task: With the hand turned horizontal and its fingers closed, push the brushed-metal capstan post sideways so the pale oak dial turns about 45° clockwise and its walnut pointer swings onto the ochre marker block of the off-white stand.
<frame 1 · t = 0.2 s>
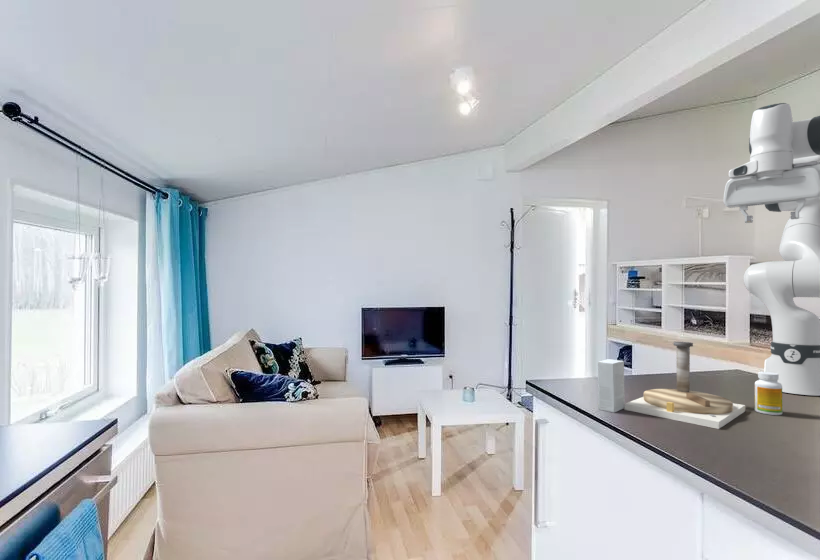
hand: (771, 221, 117), 48 cm above the worktop, tool pointing down, fingers open, 8 cm apart
dial stand: (686, 409, 114), on the worktop
supplement bottle: (768, 413, 112), on the worktop
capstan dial: (686, 374, 114), point 9 cm above the worktop, hinge at 0.0°
skincare box: (611, 409, 114), on the worktop
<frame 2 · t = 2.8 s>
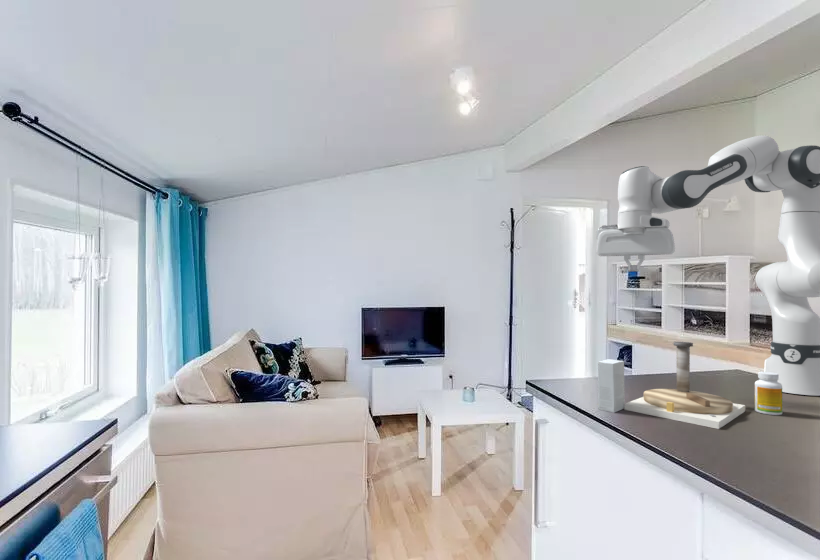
hand: (634, 271, 132), 35 cm above the worktop, tool pointing down, fingers closed
nothing on the worktop moved.
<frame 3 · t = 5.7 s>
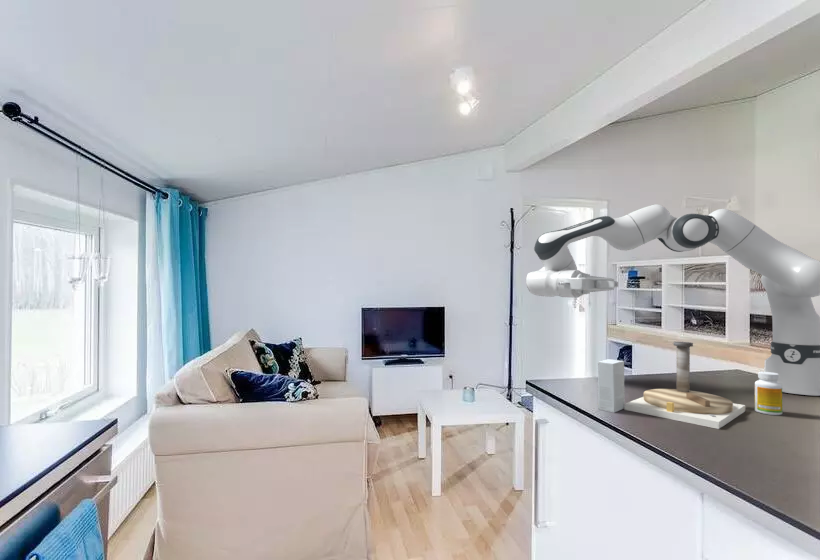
hand: (616, 284, 135), 31 cm above the worktop, tool horizontal, fingers closed
nothing on the worktop moved.
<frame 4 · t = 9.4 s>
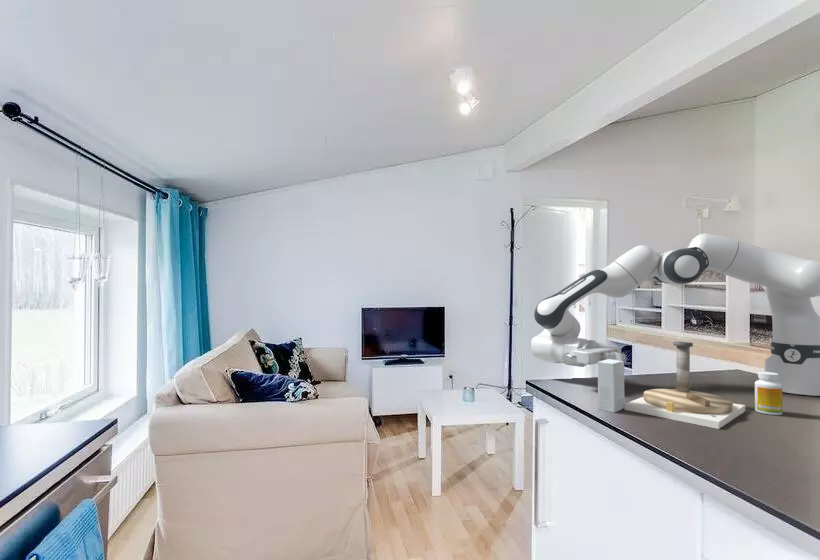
hand: (623, 357, 134), 10 cm above the worktop, tool horizontal, fingers closed
nothing on the worktop moved.
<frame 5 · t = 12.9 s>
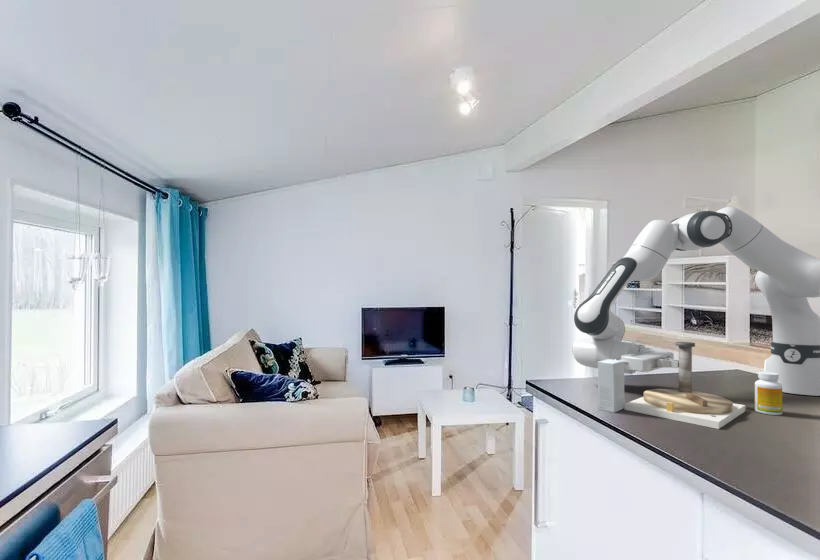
hand: (679, 364, 123), 10 cm above the worktop, tool horizontal, fingers closed, pressing on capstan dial
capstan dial: (686, 374, 114), point 9 cm above the worktop, hinge at -3.5°, touching gripper
everything else where it was.
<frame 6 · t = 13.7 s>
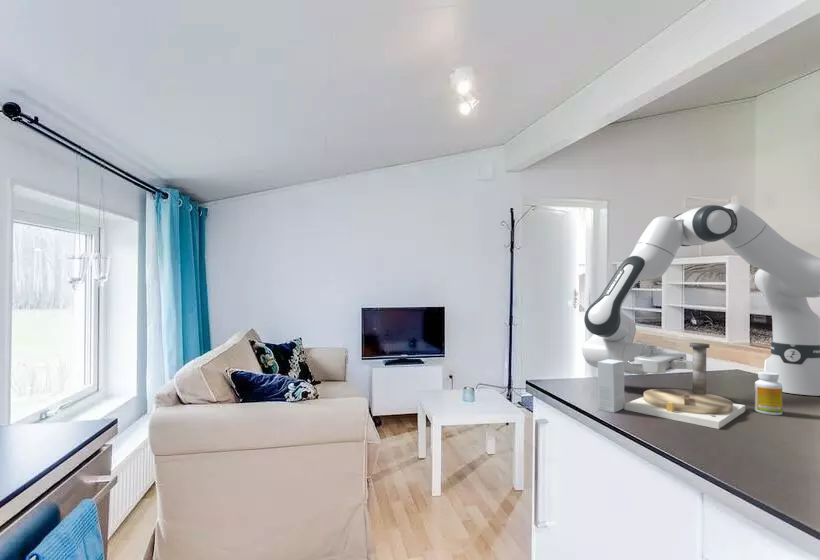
hand: (694, 365, 121), 10 cm above the worktop, tool horizontal, fingers closed, pressing on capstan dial
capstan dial: (686, 374, 114), point 9 cm above the worktop, hinge at -26.9°, touching gripper
everything else where it was.
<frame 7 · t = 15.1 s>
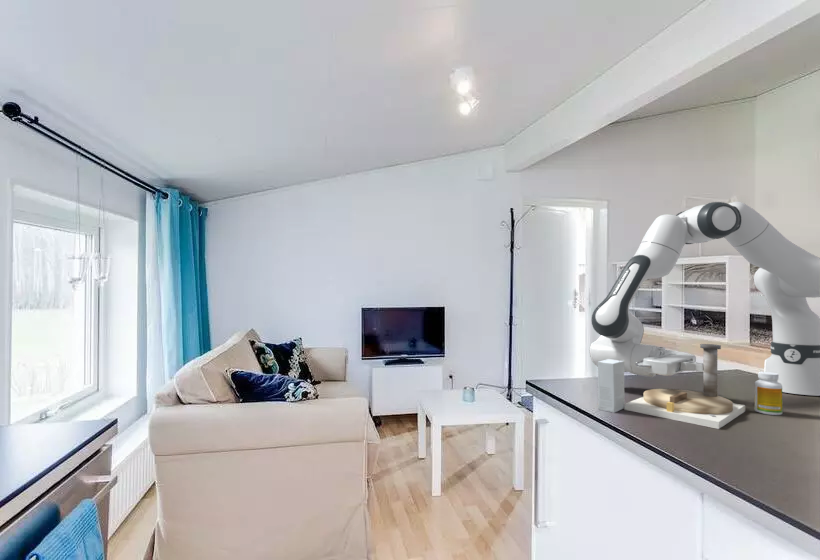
hand: (704, 367, 118), 10 cm above the worktop, tool horizontal, fingers closed
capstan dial: (686, 374, 114), point 9 cm above the worktop, hinge at -46.4°, touching gripper
everything else where it was.
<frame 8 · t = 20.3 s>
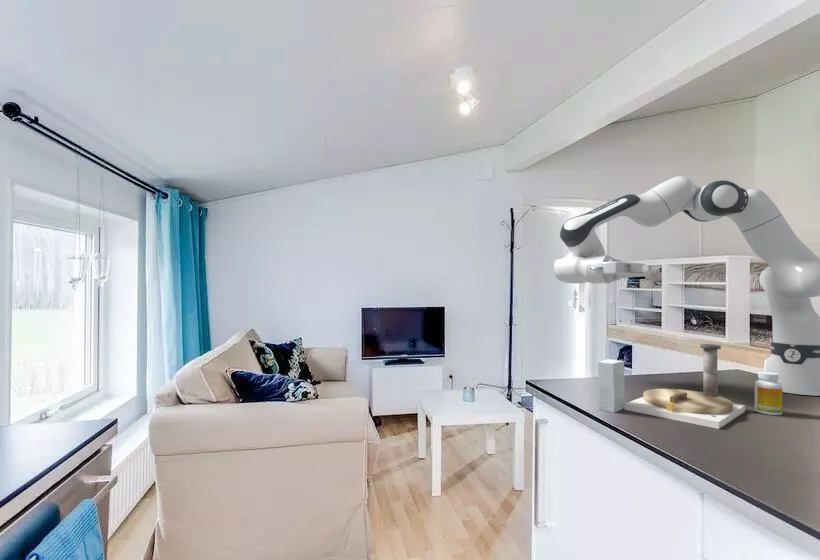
hand: (650, 268, 132), 36 cm above the worktop, tool horizontal, fingers closed
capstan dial: (686, 374, 114), point 9 cm above the worktop, hinge at -46.4°
everything else where it was.
at the end: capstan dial at -46° (first picture: +0°) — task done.
